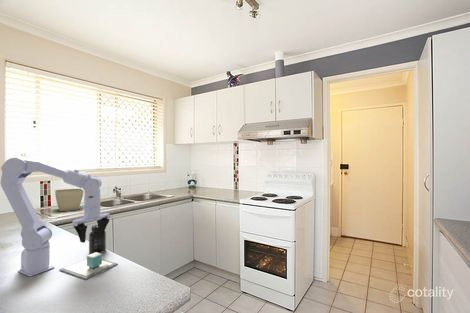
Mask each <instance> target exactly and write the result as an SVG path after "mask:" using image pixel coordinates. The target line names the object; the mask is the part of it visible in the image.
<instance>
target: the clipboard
mask: <svg viewBox="0 0 470 313" xmlns="http://www.w3.org/2000/svg"><path fill="white" fill-rule="evenodd" d="M116 266H118V263H117V262H112V261H109V260H106V259H103V258H102V264H100V265H99V267H98V268H95V269H90V268H89V266H87V258H85V259H83V260H80V261H78V262H75V263H72V264H70V265H67V266H65V267H64V266H63V267H62V268H60V269H59V271H60V272H63V273H66V274H68V275H71V276H74V277H76V278H79V279H81V280H85V281H86V280H88V279H90V278H93V277H95V276H96V275H97V276H98V275H99V274H101V273H102V272H105V271H107V270H109V269H112V268H114V267H116Z"/></svg>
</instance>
